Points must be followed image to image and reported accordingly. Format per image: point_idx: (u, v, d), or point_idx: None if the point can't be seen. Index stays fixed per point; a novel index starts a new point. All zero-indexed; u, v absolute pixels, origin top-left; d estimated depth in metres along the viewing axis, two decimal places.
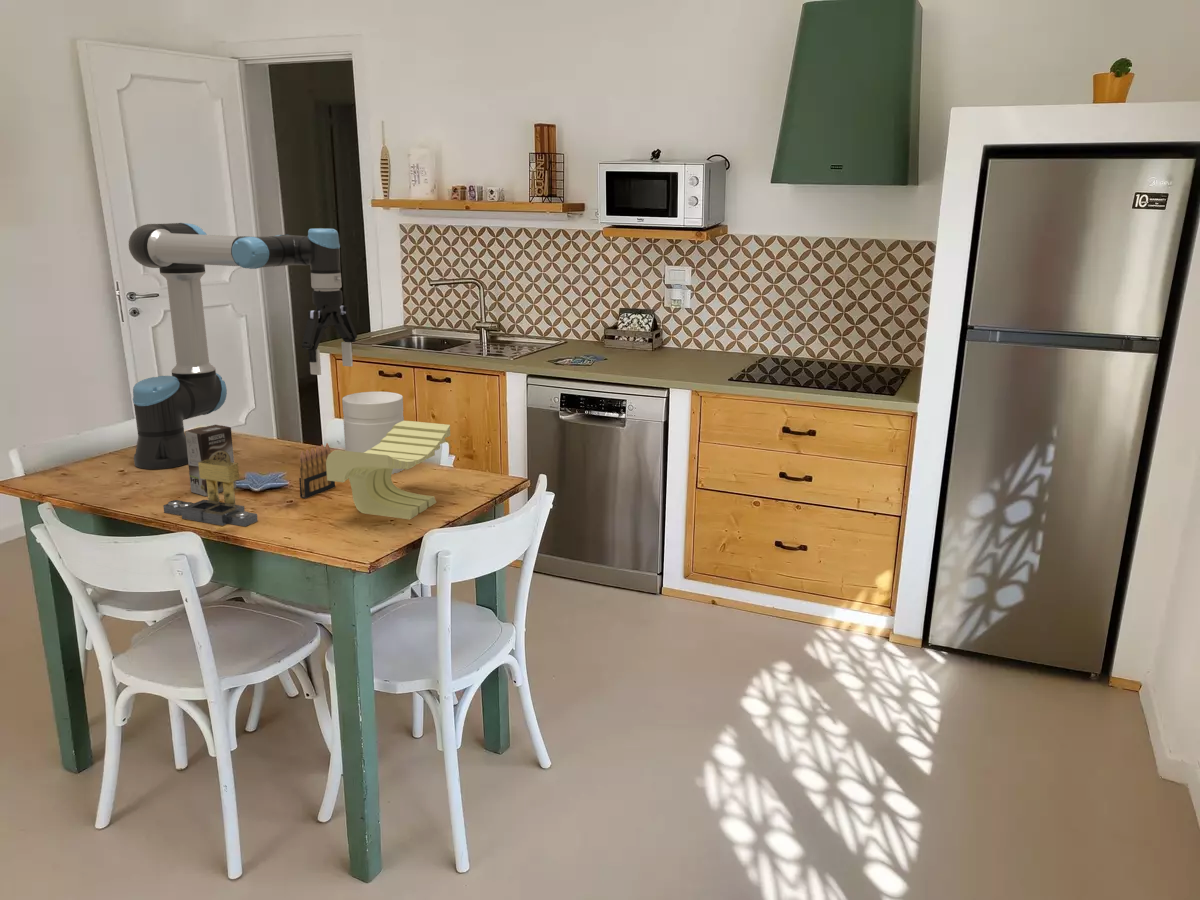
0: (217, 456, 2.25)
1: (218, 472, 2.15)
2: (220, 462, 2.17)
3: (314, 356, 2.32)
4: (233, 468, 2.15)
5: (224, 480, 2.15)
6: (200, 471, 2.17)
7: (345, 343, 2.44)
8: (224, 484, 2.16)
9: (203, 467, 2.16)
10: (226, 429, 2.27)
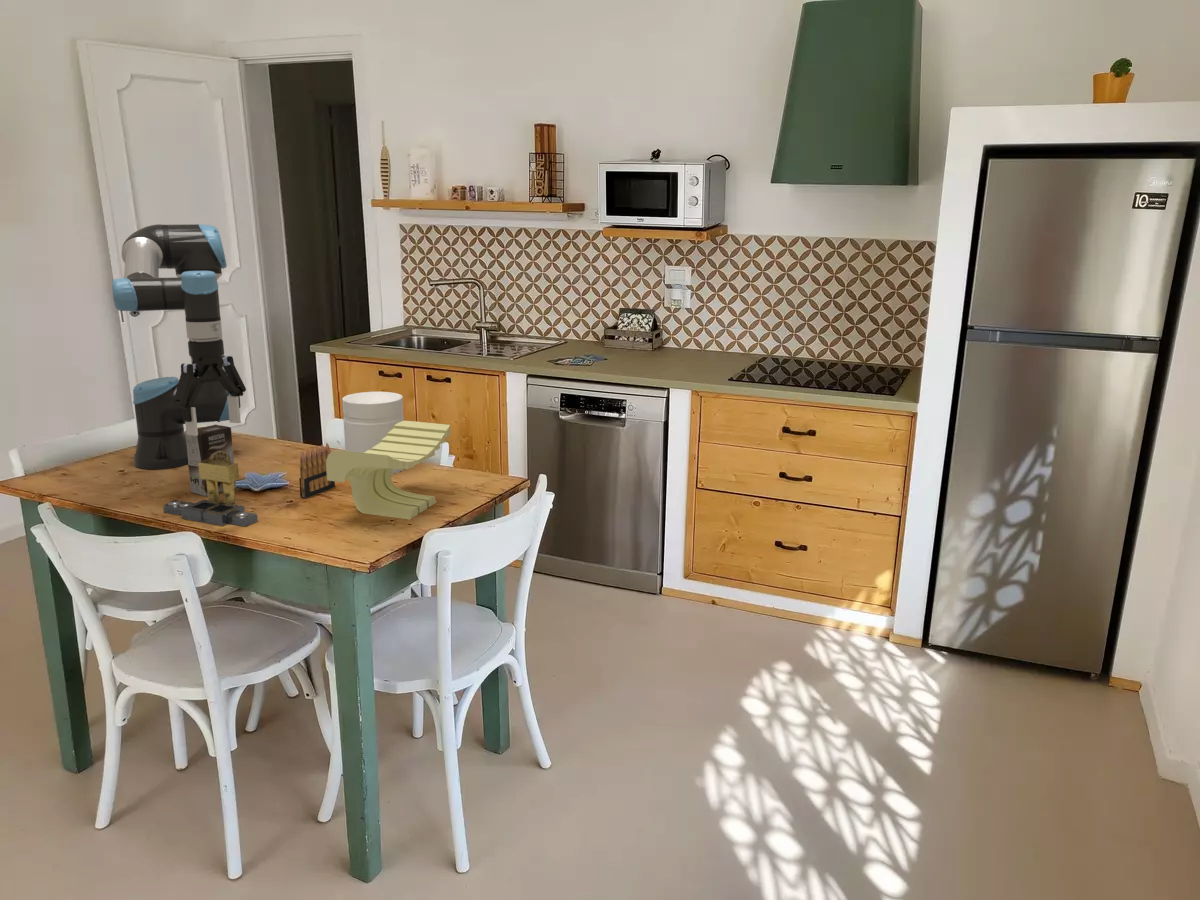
0: (217, 456, 2.25)
1: (218, 472, 2.15)
2: (220, 462, 2.17)
3: (189, 415, 2.05)
4: (233, 468, 2.15)
5: (224, 480, 2.15)
6: (200, 471, 2.17)
7: (231, 397, 2.18)
8: (224, 484, 2.16)
9: (203, 467, 2.16)
10: (226, 429, 2.27)
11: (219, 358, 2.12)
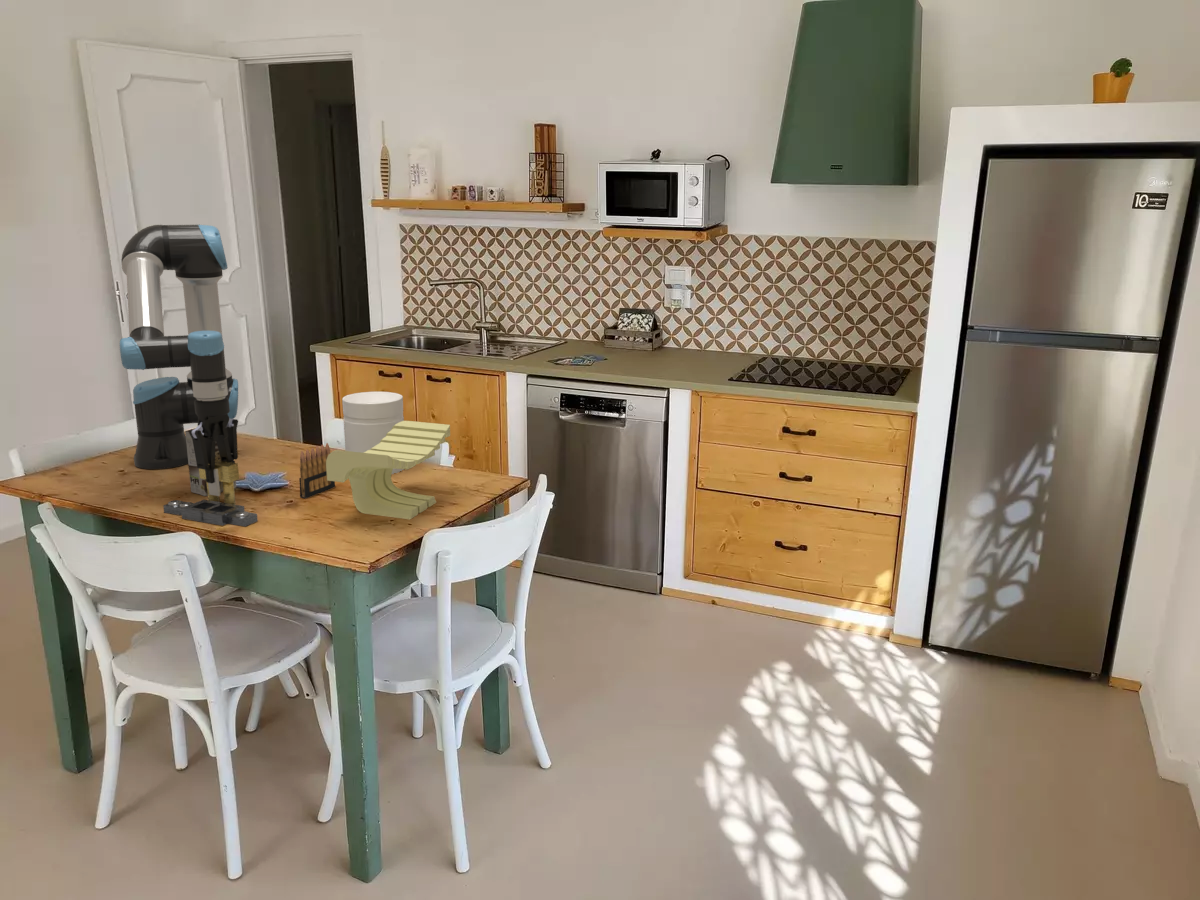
0: (217, 456, 2.25)
1: (218, 472, 2.15)
2: (220, 462, 2.17)
3: (212, 476, 2.14)
4: (233, 468, 2.15)
5: (224, 480, 2.15)
6: (200, 471, 2.17)
7: None
8: (224, 484, 2.16)
9: None
10: None
11: (226, 414, 2.16)
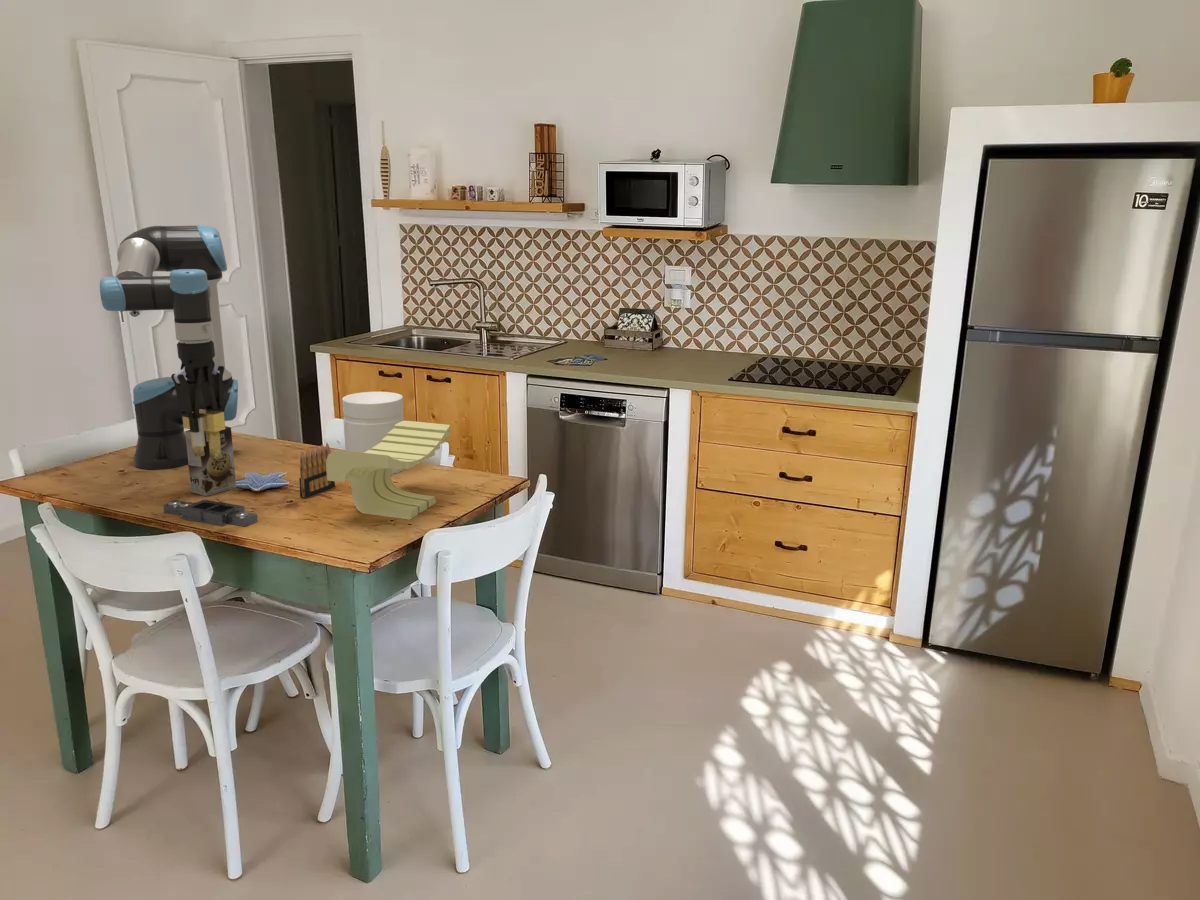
0: None
1: (203, 421, 2.02)
2: (205, 411, 2.04)
3: (196, 425, 2.01)
4: (218, 417, 2.02)
5: (209, 429, 2.02)
6: (184, 421, 2.04)
7: None
8: (209, 434, 2.03)
9: None
10: (226, 429, 2.27)
11: (212, 360, 2.03)
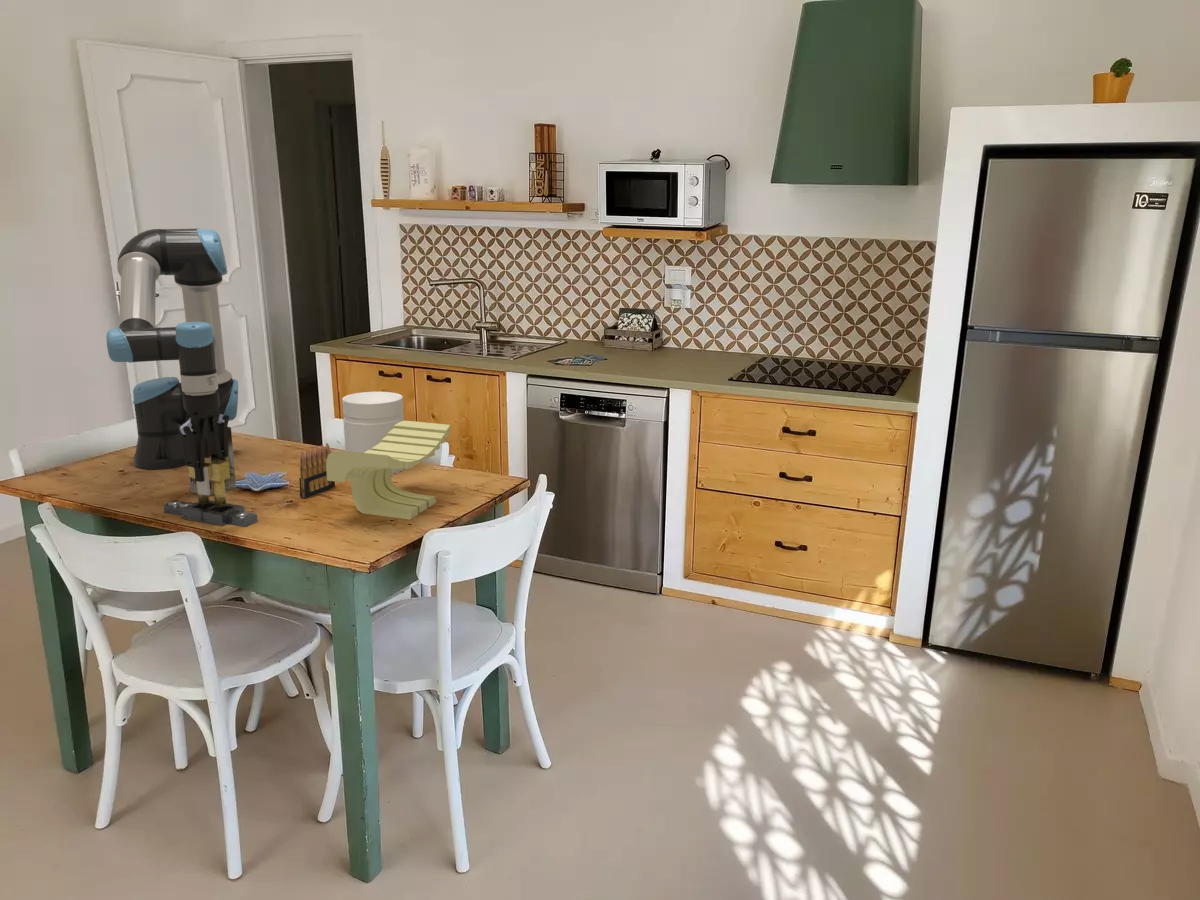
0: None
1: (208, 470, 2.05)
2: (210, 460, 2.07)
3: (201, 475, 2.04)
4: (223, 466, 2.05)
5: (214, 479, 2.05)
6: (189, 470, 2.07)
7: None
8: (214, 483, 2.06)
9: None
10: None
11: (217, 410, 2.06)
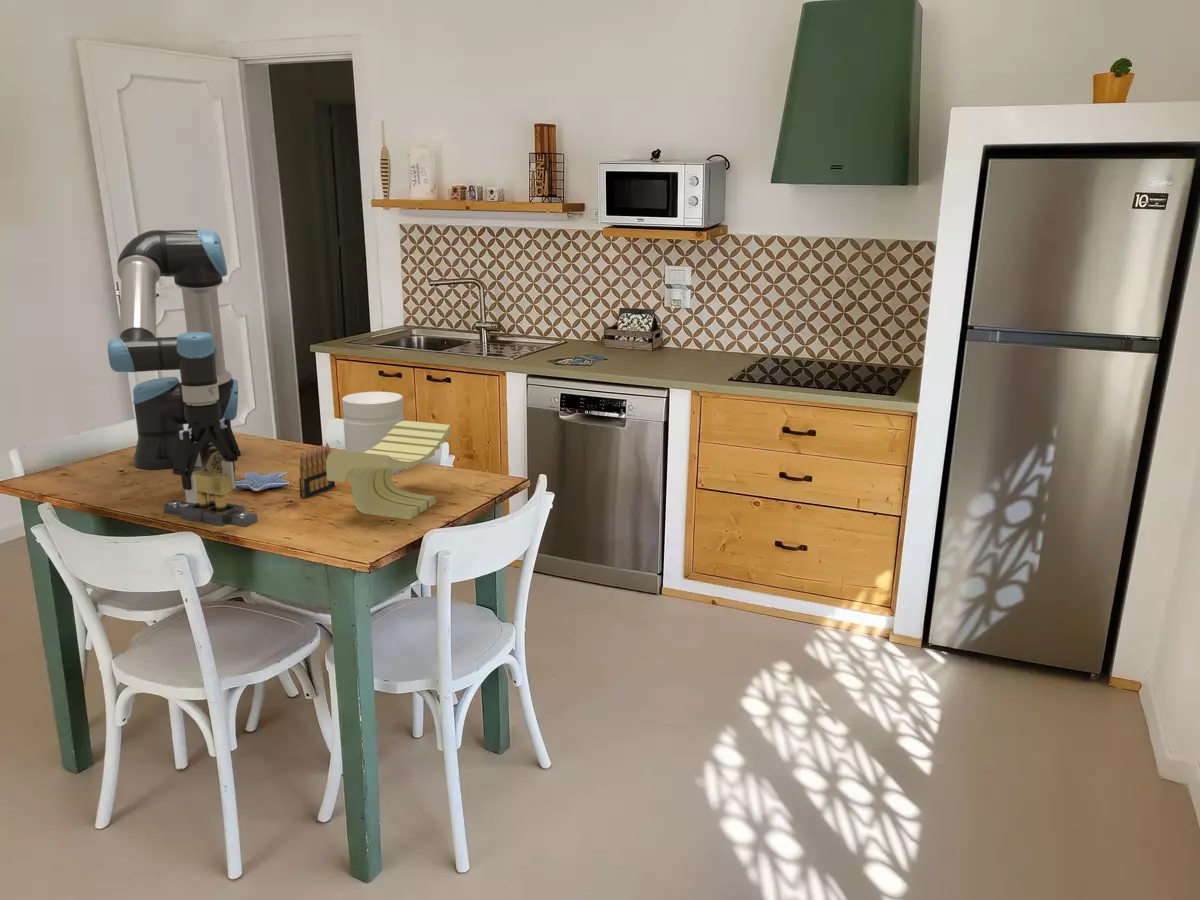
0: (217, 456, 2.25)
1: (209, 484, 2.06)
2: (212, 473, 2.08)
3: (188, 483, 2.01)
4: (225, 480, 2.06)
5: (215, 492, 2.06)
6: None
7: (225, 463, 2.12)
8: (216, 496, 2.07)
9: None
10: None
11: (216, 420, 2.06)
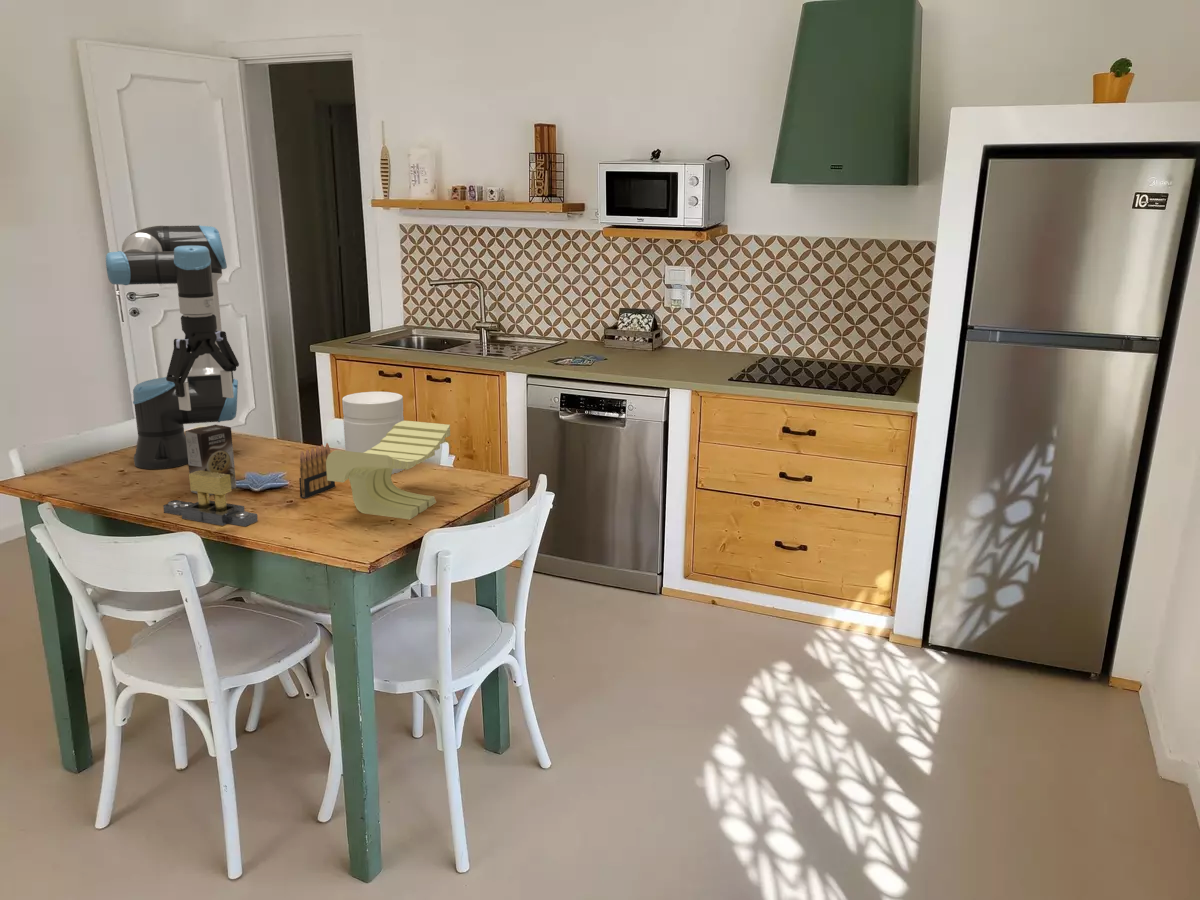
0: (217, 456, 2.25)
1: (209, 484, 2.06)
2: (212, 473, 2.08)
3: (182, 390, 2.06)
4: (225, 480, 2.06)
5: (215, 492, 2.06)
6: (191, 483, 2.08)
7: (224, 372, 2.19)
8: (216, 496, 2.07)
9: (194, 479, 2.07)
10: (226, 429, 2.27)
11: (212, 333, 2.12)
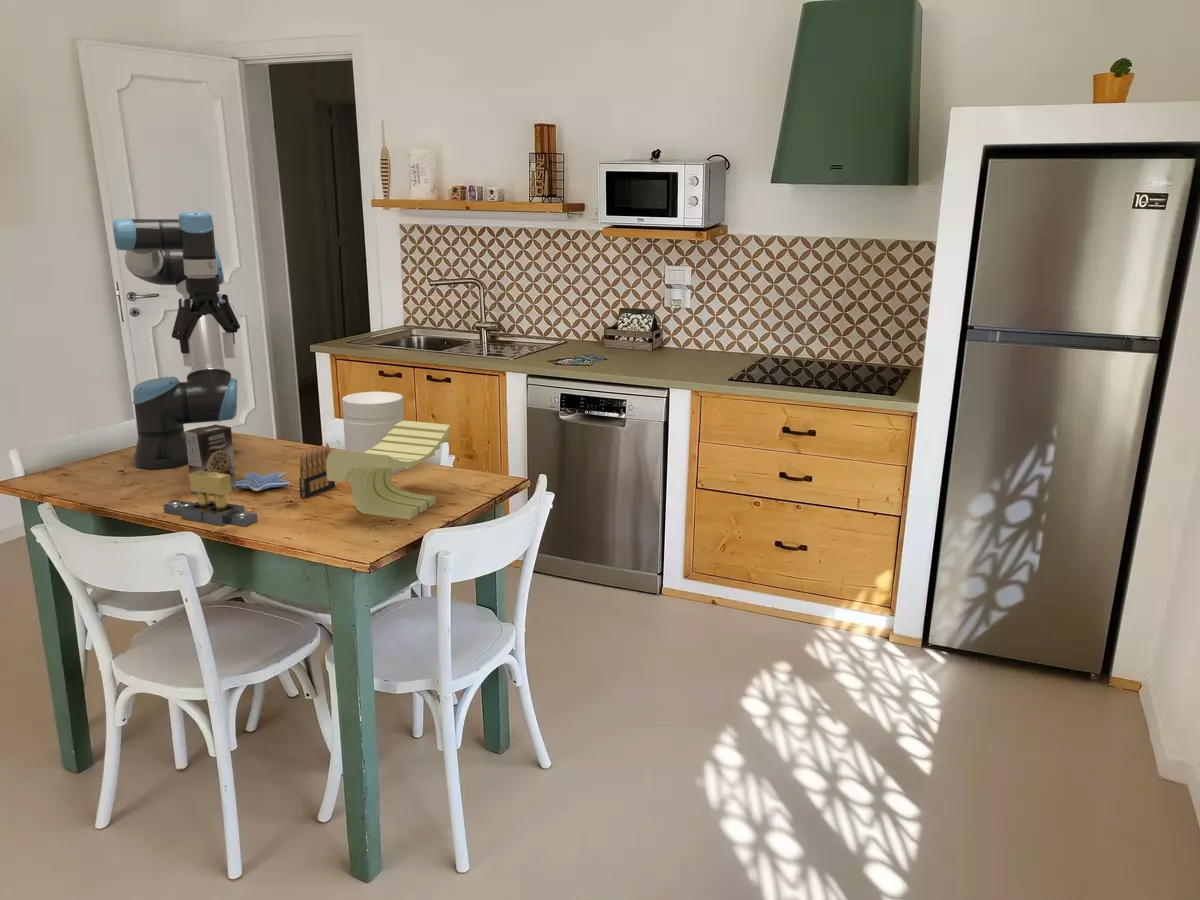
0: (217, 456, 2.25)
1: (209, 484, 2.06)
2: (212, 473, 2.08)
3: (186, 347, 2.19)
4: (225, 480, 2.06)
5: (215, 492, 2.06)
6: (191, 483, 2.08)
7: (226, 334, 2.32)
8: (216, 496, 2.07)
9: (194, 479, 2.07)
10: (226, 429, 2.27)
11: (215, 295, 2.25)
